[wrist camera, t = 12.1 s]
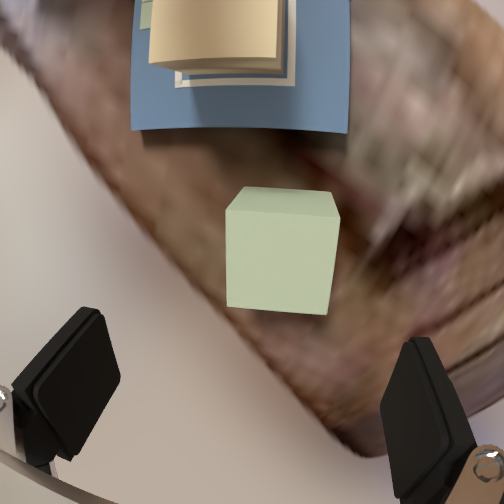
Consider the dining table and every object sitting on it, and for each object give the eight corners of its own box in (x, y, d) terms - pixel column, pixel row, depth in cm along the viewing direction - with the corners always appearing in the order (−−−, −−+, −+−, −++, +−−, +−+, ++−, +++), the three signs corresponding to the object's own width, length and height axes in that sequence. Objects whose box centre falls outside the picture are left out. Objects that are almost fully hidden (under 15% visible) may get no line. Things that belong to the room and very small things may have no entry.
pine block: (285, -9, 13) (278, -50, 8) (283, 74, 15) (276, 57, 10) (193, -5, 13) (157, -38, 9) (188, 75, 15) (148, 63, 11)
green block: (330, 191, 18) (340, 217, 14) (322, 269, 20) (326, 314, 16) (244, 186, 19) (225, 210, 14) (243, 263, 21) (227, 306, 16)
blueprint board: (344, -38, 12) (346, -47, 11) (344, 132, 17) (347, 133, 15) (147, -28, 14) (138, -34, 12) (140, 129, 18) (130, 130, 17)
